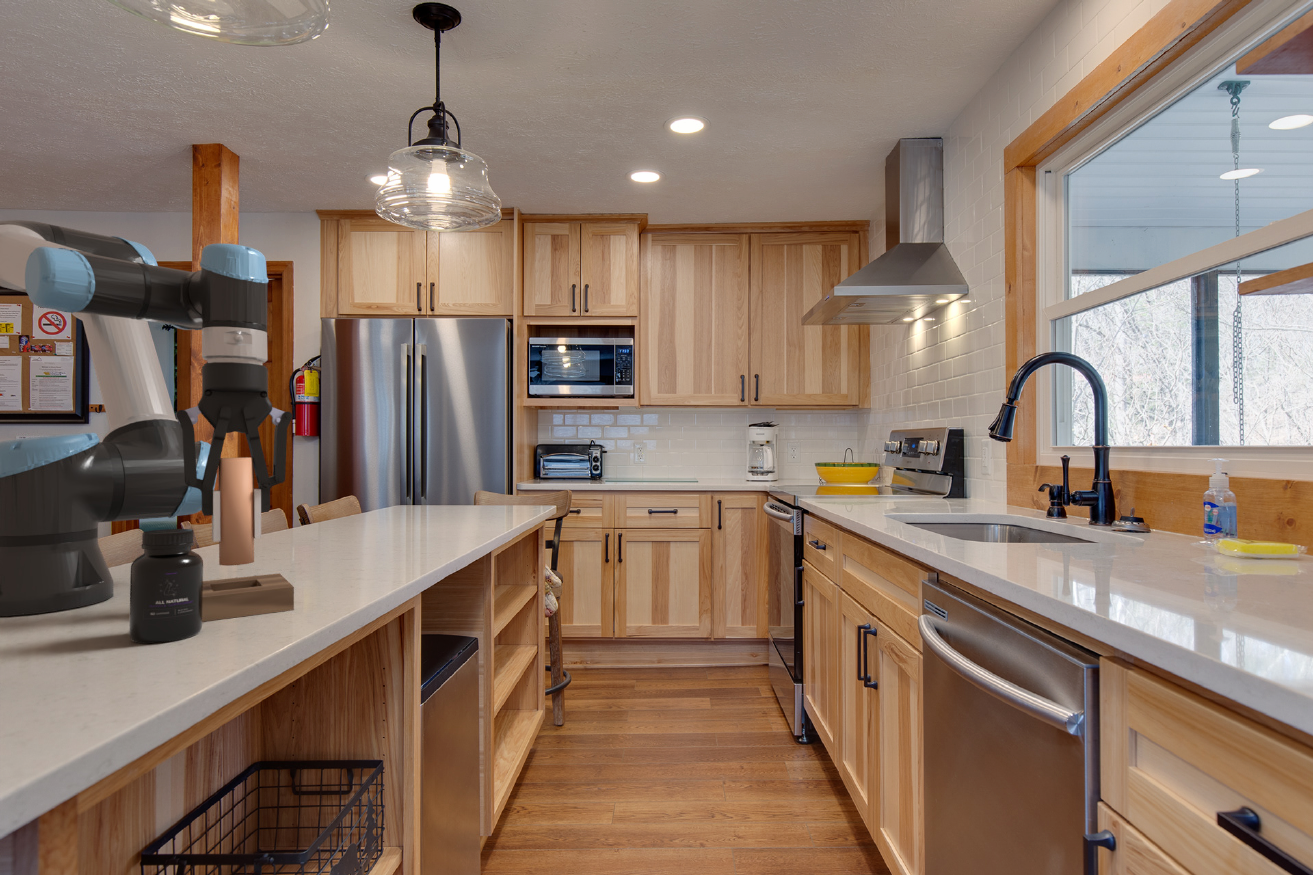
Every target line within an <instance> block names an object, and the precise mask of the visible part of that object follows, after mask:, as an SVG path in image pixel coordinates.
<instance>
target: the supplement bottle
mask: <svg viewBox="0 0 1313 875" xmlns="http://www.w3.org/2000/svg"><path fill="white" fill-rule="evenodd" d="M141 538H142V542H141V549H143V550H144V553H143V554H141V555H140V556H138V557H136V558H135V559H134V560H133V561H132V562H131V565H130V577H129V578H130V579H129V580H130V583H129V584H130V585H129V586H130V587H129V590H130V591H129V637H130V640H131V641H133V642H134V643H139V644H159V643H167V642H175V641H176V642H177V641H180V640H185V639H188V638H192V637H194V636H196V635H197V634H199V633H200V632H201V630H202V627H203V622H202V604H203V581H204V560H203V558H202V556H201V555H200V554H199V553H197V552H195V551H193V550H192V547H194V546H195V541H194V529H191V528H190V529H188V528H171V529H170V528H167V529H156V530H154V529H153V530H147V531H143V532H142V537H141Z"/></svg>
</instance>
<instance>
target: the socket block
mask: <svg viewBox="0 0 1313 875" xmlns="http://www.w3.org/2000/svg"><path fill="white" fill-rule="evenodd" d="M294 594H295V587H294V586H293V584H292V583H290V582H289V581H288V580H287V579H286V578H285V577H284V576H283V575H282V574H281V573H272V574H271V573H269V574H262V575H261V574H260V575H259V574H258V575H251V576H242V577H241V576H240V577H232V578H231V577H230V578H223V579H222V578H220V579H214V580H213V579H211V580H203V604H202V623H205V622H211V621H212V622H213V621H219V620H226V619H227V620H228V619H234V618H241V617H242V618H243V617H249V616H256V615H257V616H258V615H264V614H273V613H278V612H287V611H294V610H295V596H294Z"/></svg>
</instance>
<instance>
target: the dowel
mask: <svg viewBox="0 0 1313 875" xmlns="http://www.w3.org/2000/svg"><path fill="white" fill-rule="evenodd" d="M254 473H255V470H254V460H253V458H252V457H220V461H219V465H218V490H219V491H220V541H218V552H219V553H218V558H219V559H218V564H219V566H225V567H226V566H229V567H230V566H242V565H247V564H252V563H255V538H254V489H255V486H254V485H255V484H254V483H255V482H254V477H255V474H254Z"/></svg>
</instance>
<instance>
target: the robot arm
mask: <svg viewBox="0 0 1313 875" xmlns="http://www.w3.org/2000/svg"><path fill="white" fill-rule="evenodd" d="M199 266H200V268H201V269H200V270H197V271H187V270H182V269H177V268H170V267H166V266H159V265H158V263H157V260H156V257H155V256H154V254H153V253H152V252H151V251H150V249H149V247H147V246H145V245H143V243H140V242H137V241H133V240H128V239H126V238H124V237H120V236H115V235H114V236H109V235H104V234H99V233H94V232H90V231H89V232H88V231H83V230H78V229H75V228H68V227H64V226H59V225H55V224H49V223H47V222H46V223H45V222H39V221H34V220H21V219H20V220H19V219H12V220H10V219H9V220H1V221H0V287H2V288H5V289H6V288H7V289H11V290H14V291H18V292H23V293H27V295H28V298H29V301H30V302H31V303H32V304H33V305H35V306H36V307H39V308H43V309H49V310H55V311H59V312H63V313H70V314H71V315H73V317H75V318H77V319H79V320H81V321H82V324H83V327H84V332H85V335H86V340H87V344H88V348H89V351H90V352H89V353H90V355H91V359H92V362H93V367H94V370H95V375H96V379H97V382H98V387H99V390H100V394H101V398H102V403H103V407H104V410H105V413H106V417H107V422H108V426H109V431H108V432H107V433H106V434H105V435H104V436H103V437H102V440H101V442H100V438H99V436H98V434H97V433H96V432H80V433H68V434H56V435H47V436H35V437H25V438H17V439H9V440H3V441H0V617H1V616H2V617H5V616H21V615H31V614H32V615H33V614H40V613H41V614H42V613H50V612H56V611H63V610H69V609H75V608H80V607H86V606H89V605H93V604H94V605H95V604H97V603H100V602H103V601H106V600H109V599H111V598H112V597H114V578H113V577H112V574H111V572H110V570H109V569H110V568H109V567H108V565H107V562H106V559H105V558H104V555H103V552H102V550H101V548H100V545H99V539H98V538H99V535H98V534H99V523H106V522H121V521H134V520H145V519H147V520H148V519H162V518H168V519H173V518H175V517H179V516H188V515H194V514H197V513H199V512H201V513H202V515H203V516H204V517H205V516H206V517H207V516H208V517H209V516H211V541H212V542H213V543H214V542H215V543H216V542H217V543H218V542H219V541H220V491H219V489H218V490H215V487H216V484H217V482H216V481H217V475H218V471H219V461H220V458H222V457H221V456H222V451H223V447H224V442H225V440H226V436H227V434H231V433H235V432H236V433H241V434H245V438H246V441H247V444H248V448H249V452H250V456H251V457H252V458H253V460H254V473H255V474H254V475H255V477H256V481H257V485H258V488H254V540H255V539H256V540H257V539H261V538H262V513H269V512H270V509H271V489H272V488H273V487H274V486H277V485H280V484H283V483H284V482H285V481H286V468H287V466H286V464H287V445H288V444H287V443H288V441H287V439H288V427H289V425H290V423H291V421H292V419H293V413H292V412H291V411H283V410H280V409H278V408H276V407H273V404H272V402H271V401H270V399H269V392H268V391H269V388H268V387H269V381H268V380H269V370H268V368H267V366H266V365H263V364H264V363H266V362H267V361H268V283H269V278H268V274H267V258H266V257H265V255H264V254H263V253H262V252H261V251H259V250H258V249H255V248H253V247H250V246H247V245H246V246H245V245H241V244H234V243H224V242H223V243H210V244H208V245H205V246H204V247H203V248H202V251H201V259H200V262H199ZM148 322H152V323H160V324H169V325H170V326H173V327H174V328H176V329H179V330H182V331H183V330H184V331H192V330H193V331H201V358H202V359H203V360H205V361H206V362H205V363H204V364H203V365H202V368H201V373H202V374H201V376H202V377H201V382H202V383H201V384H202V385H201V392H202V394H201V398H200V400H199V401H198V402H197V405H196V406H193V407H190V408H187V409H179V410H178V411H177V412H176V414H175V411H174V408H173V405H172V402H171V401H172V400H171V398H170V395H169V391H168V387H167V384H166V380H165V378H164V374H163V370H162V366H161V363H160V359H159V357H158V354H157V350H156V347H155V342H154V340H153V336H152V333H151V329H150V326H149V323H148ZM200 414H201V415H202V416H203V417H204V418H205V419H206V421H207V422H208V423H209V425H210V426H211V427H212V428H213V432H212V436H211V443H209V442H207V441H203V440H198V441H196V438H195V427H194V425H196V424H197V423H198V421H199V418H198V417H199V415H200ZM268 416H270V417H271V423H272V424H273V425H274V426H275V427H274V435H273V436H274V437H273V458H272V459H273V461H272V463H273V464H272V475H271V476H270V475H269V472H268V468H267V463H266V459H265V455H264V452H263V447H262V444H261V443H262V442H261V438H260V432H259V427H260V426H261V425H262V423H263V422H264V421H265V420H266V418H268ZM251 457H250V458H251Z"/></svg>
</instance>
